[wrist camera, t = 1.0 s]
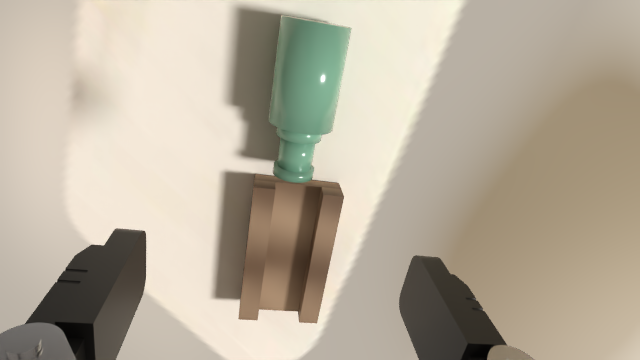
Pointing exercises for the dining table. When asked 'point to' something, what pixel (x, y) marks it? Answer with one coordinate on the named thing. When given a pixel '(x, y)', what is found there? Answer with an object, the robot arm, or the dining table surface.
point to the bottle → (305, 91)
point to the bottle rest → (289, 246)
